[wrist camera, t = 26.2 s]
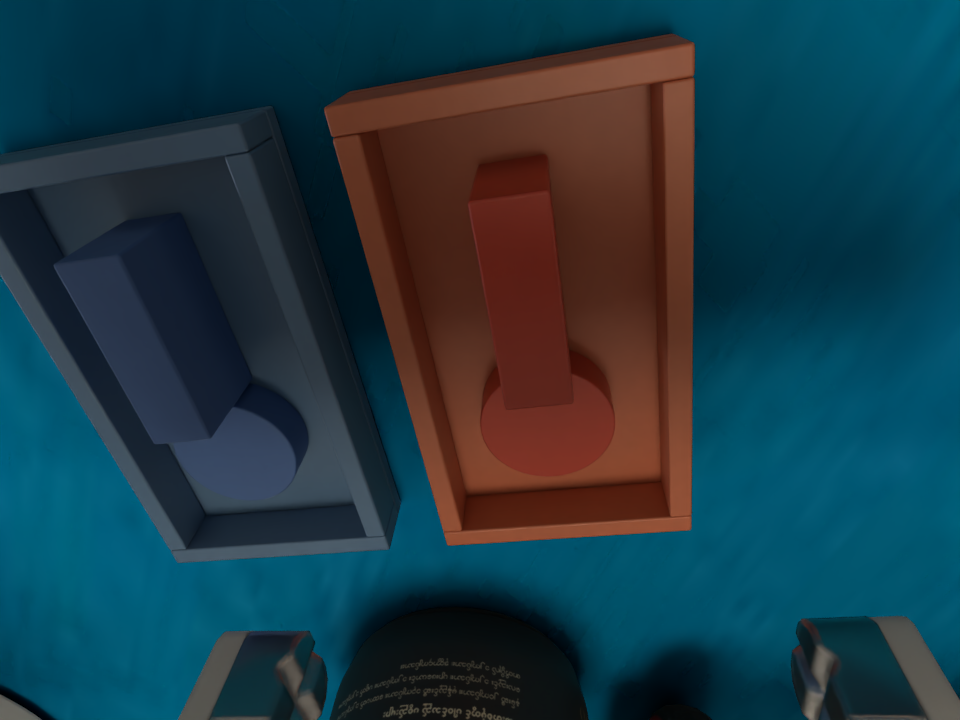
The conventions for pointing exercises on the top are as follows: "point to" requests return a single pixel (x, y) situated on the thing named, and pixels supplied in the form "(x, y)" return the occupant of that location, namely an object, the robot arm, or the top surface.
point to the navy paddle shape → (183, 358)
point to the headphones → (678, 713)
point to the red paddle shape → (532, 330)
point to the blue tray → (248, 308)
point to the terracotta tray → (583, 266)
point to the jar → (459, 671)
